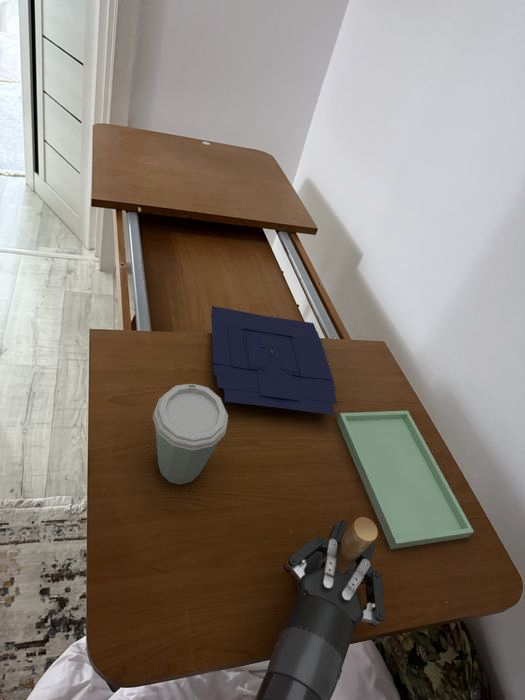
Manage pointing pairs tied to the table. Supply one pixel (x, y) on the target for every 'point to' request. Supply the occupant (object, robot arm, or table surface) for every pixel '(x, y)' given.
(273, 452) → the table surface
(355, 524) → the wooden handled stamp
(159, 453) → the disposable coffee cup
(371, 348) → the table surface
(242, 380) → the folded navy cloth
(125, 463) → the table surface
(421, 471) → the tray
